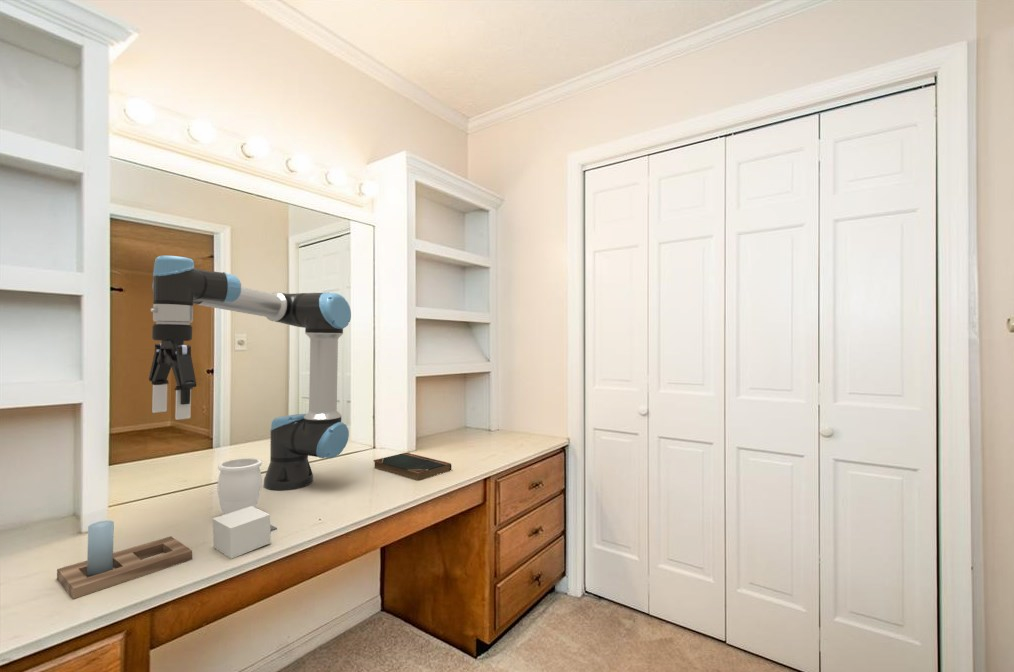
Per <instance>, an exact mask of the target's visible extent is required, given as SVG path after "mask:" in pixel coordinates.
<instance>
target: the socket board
mask: <svg viewBox="0 0 1014 672" xmlns="http://www.w3.org/2000/svg"><path fill="white" fill-rule="evenodd" d="M154 555H156V556H154ZM151 556H152V557H151ZM191 559H192V560H193V550H192V549H191V548H189V547H188V546H187V545H185V544H184V543H183V542H180V541H179V540H177V539H176V538H174V537H173V536H171V535H170V536H166V537H164V538H159V539H157V540H153V541H149V542H146V543H143V544H140V545H136V546H132V547H129V548H128V547H127V548H126V549H121V550H119V551H115V552H113V570H110V571H107V572H103V573H100V574H97V575H94V576H91V577H87V560H85V561H80V562H78V563H74V564H71V565H70V564H69V565H66V566H63V567H60V568H57V570H56V580H57V581H58V582H59V583H60V584H61V586H62V587H63V588H64V589H65V591H66V592H67V593H68V595H70V597H71V598H72V599H73V600H74V599H78V598H81V597H83V596H87V595H89V594H93V593H96V592H98V591H101V590H104V589H107V588H111V587H113V586H118V585H119V584H123V583H125V582H129V581H131V580H134V579H136V578H137V579H138V578H141V577H143V576H148V575H150V574H153V573H155V572H158V571H162V570H164V569H167V568H170V567H174V566H176V564H177V565H179V563H180V564H182V563H181V562H183V563H186V562H188V560H189V561H191ZM185 561H186V562H185ZM173 565H174V566H173Z"/></svg>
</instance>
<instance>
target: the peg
mask: <svg viewBox="0 0 1014 672" xmlns="http://www.w3.org/2000/svg"><path fill="white" fill-rule="evenodd" d="M114 524H115V522H114V520H102V521H101V520H100V521H97V522H94V523H91V524H89V525H88V526H87V560H86V561H87V576H86V578H87V577H91V576H94V575H97V574H100V573H103V572H107V571H110V570H113V569H114V568H113V553H114V537H115V536H114V535H115V534H114V527H115V525H114Z"/></svg>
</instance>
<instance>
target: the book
mask: <svg viewBox="0 0 1014 672" xmlns="http://www.w3.org/2000/svg"><path fill="white" fill-rule="evenodd" d="M373 462H374V469H377V470H379V471H382V472H387V473H389V474H393V475H396V476H400V477H403V478H407V479H410V480H414V481H417V482H418V481H422V480H425V479H428V478H431V476H432V477H435V476H438V475H440V473H441V474H444V473H448V472H450V470H451V471H452V463H450V462H447V461H443V460H439V459H435V458H430V457H426V456H421V455H418V454H414V453H411V452H410V453H409V452H403V453H398V454H394V455H390V456H389V455H388V456H387V457H381V458H377V459H374V460H373ZM443 472H444V473H443ZM437 474H438V475H437ZM434 475H435V476H434Z"/></svg>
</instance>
